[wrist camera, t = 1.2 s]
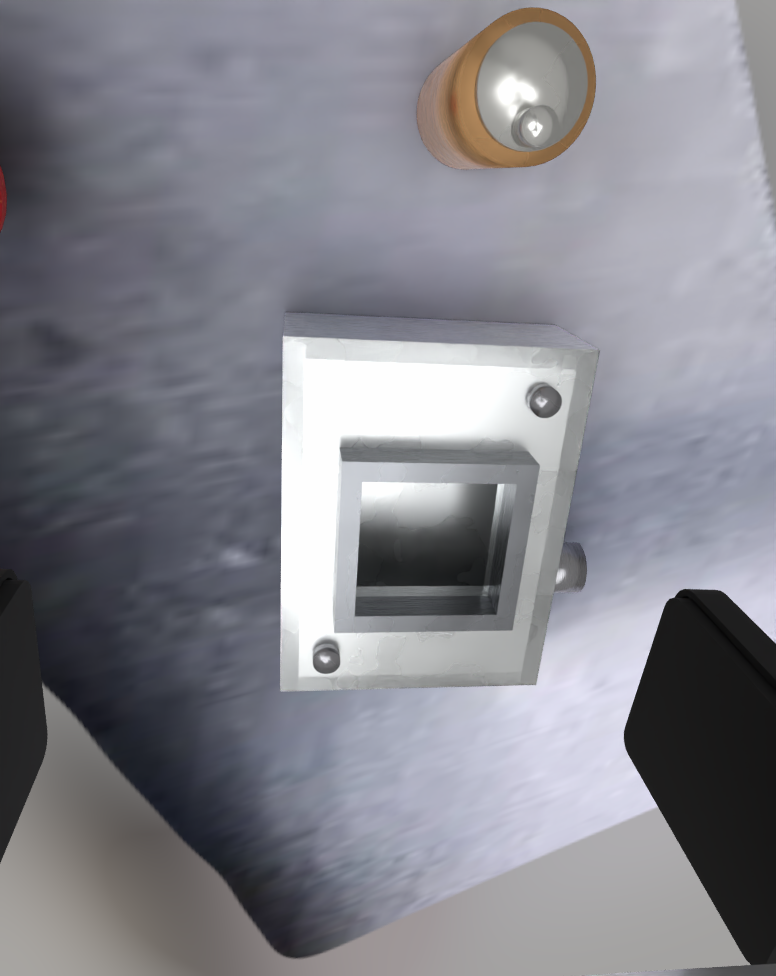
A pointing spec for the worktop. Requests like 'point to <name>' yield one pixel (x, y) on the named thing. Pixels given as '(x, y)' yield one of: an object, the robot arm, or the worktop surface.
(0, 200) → the strawberry
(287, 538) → the plate
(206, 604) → the worktop surface
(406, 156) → the worktop surface
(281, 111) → the worktop surface
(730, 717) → the robot arm
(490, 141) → the spout can
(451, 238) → the worktop surface
